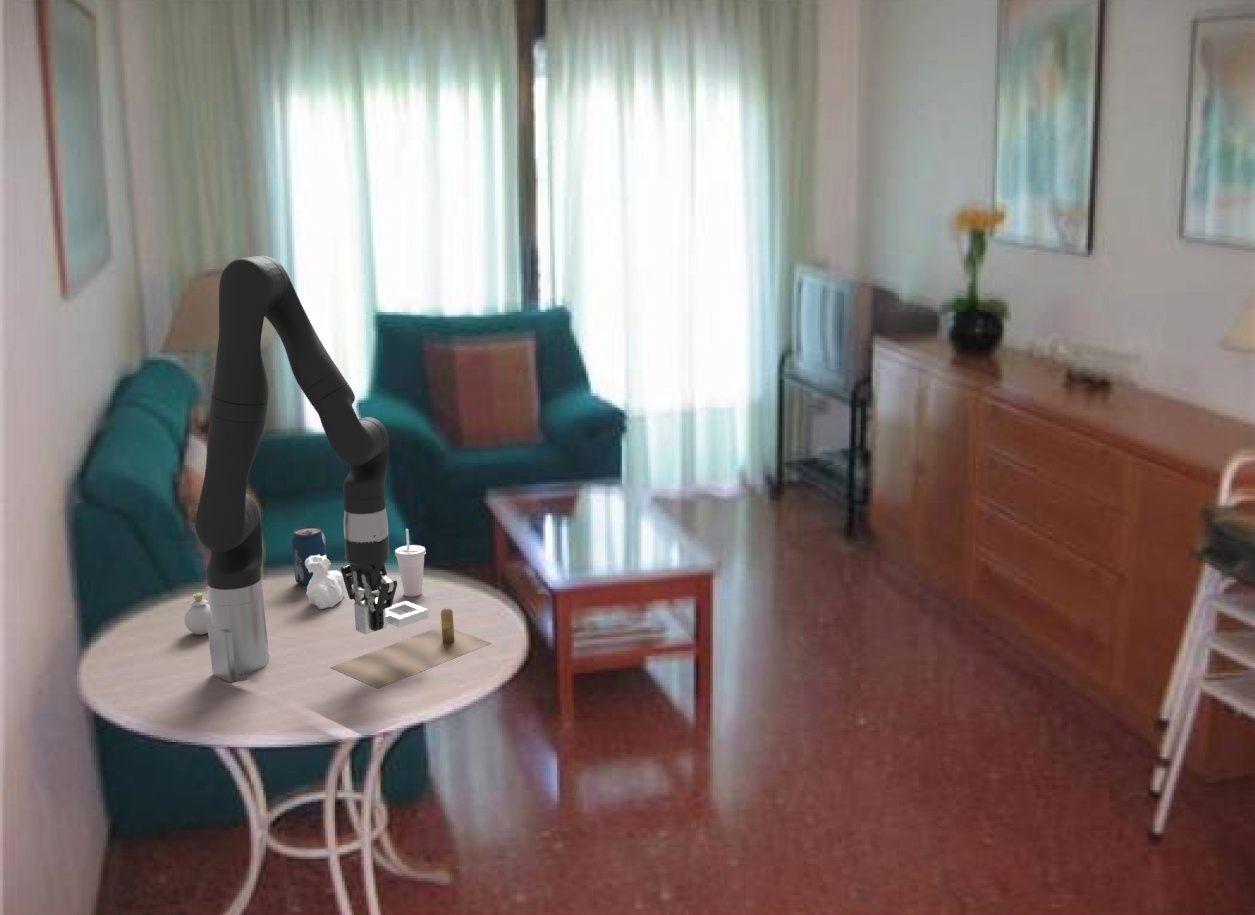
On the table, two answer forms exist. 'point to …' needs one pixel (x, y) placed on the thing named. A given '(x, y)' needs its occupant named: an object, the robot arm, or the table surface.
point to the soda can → (306, 551)
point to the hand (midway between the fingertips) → (371, 626)
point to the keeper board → (411, 654)
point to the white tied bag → (324, 583)
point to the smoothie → (411, 567)
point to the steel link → (388, 615)
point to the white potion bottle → (198, 615)
